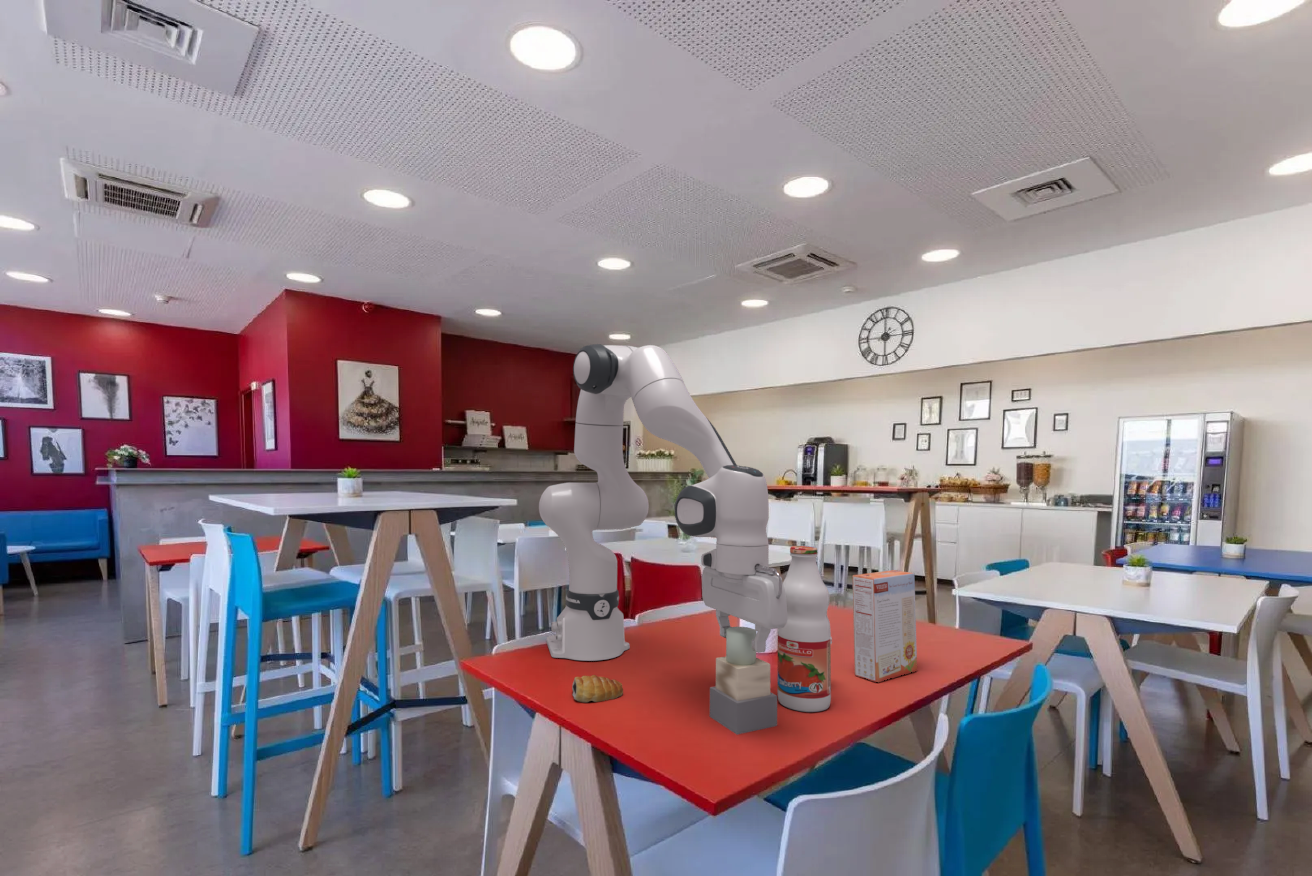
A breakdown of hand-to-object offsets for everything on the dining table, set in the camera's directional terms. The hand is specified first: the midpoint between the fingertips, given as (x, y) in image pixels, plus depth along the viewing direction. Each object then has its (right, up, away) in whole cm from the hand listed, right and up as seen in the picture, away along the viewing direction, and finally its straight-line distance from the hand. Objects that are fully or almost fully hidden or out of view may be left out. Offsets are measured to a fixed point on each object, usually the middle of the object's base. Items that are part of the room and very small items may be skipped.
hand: (741, 644), depth 101 cm
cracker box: (+34, -15, +25) cm, 45 cm away
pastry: (-26, -13, +10) cm, 31 cm away
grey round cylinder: (0, -3, 0) cm, 3 cm away
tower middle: (0, -8, 0) cm, 8 cm away
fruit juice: (+12, -14, +8) cm, 20 cm away
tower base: (0, -13, -1) cm, 13 cm away
